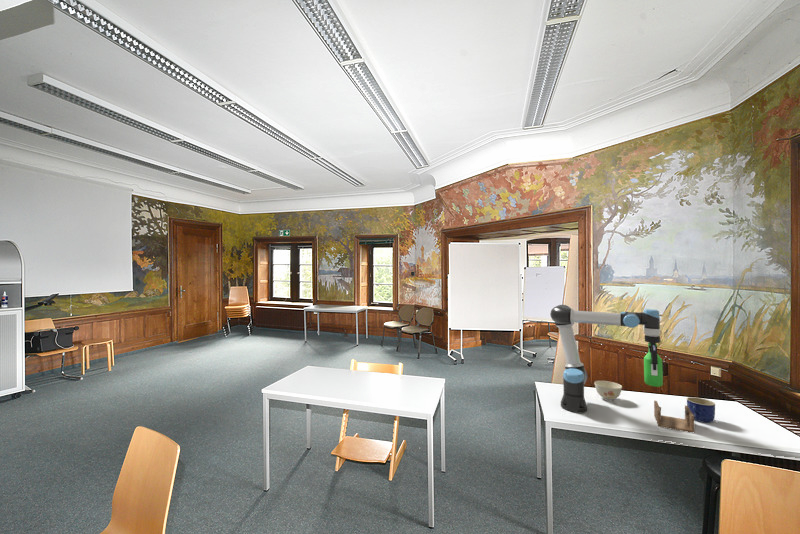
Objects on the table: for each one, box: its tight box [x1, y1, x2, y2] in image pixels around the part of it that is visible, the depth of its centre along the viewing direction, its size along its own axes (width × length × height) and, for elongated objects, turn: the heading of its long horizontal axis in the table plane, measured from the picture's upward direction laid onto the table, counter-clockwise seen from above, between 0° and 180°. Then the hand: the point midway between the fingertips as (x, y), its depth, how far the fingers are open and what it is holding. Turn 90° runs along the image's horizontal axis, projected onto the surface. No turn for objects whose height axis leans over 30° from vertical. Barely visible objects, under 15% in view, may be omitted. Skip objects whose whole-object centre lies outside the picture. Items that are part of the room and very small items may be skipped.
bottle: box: [643, 342, 664, 388], centre depth 199 cm, size 9×9×25 cm
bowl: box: [594, 380, 623, 402], centre depth 226 cm, size 16×16×10 cm
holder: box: [653, 400, 695, 433], centre depth 189 cm, size 15×16×9 cm
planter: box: [686, 396, 716, 424], centre depth 195 cm, size 12×12×11 cm
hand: (653, 373), depth 199 cm, fingers closed on bottle, 9 cm apart
